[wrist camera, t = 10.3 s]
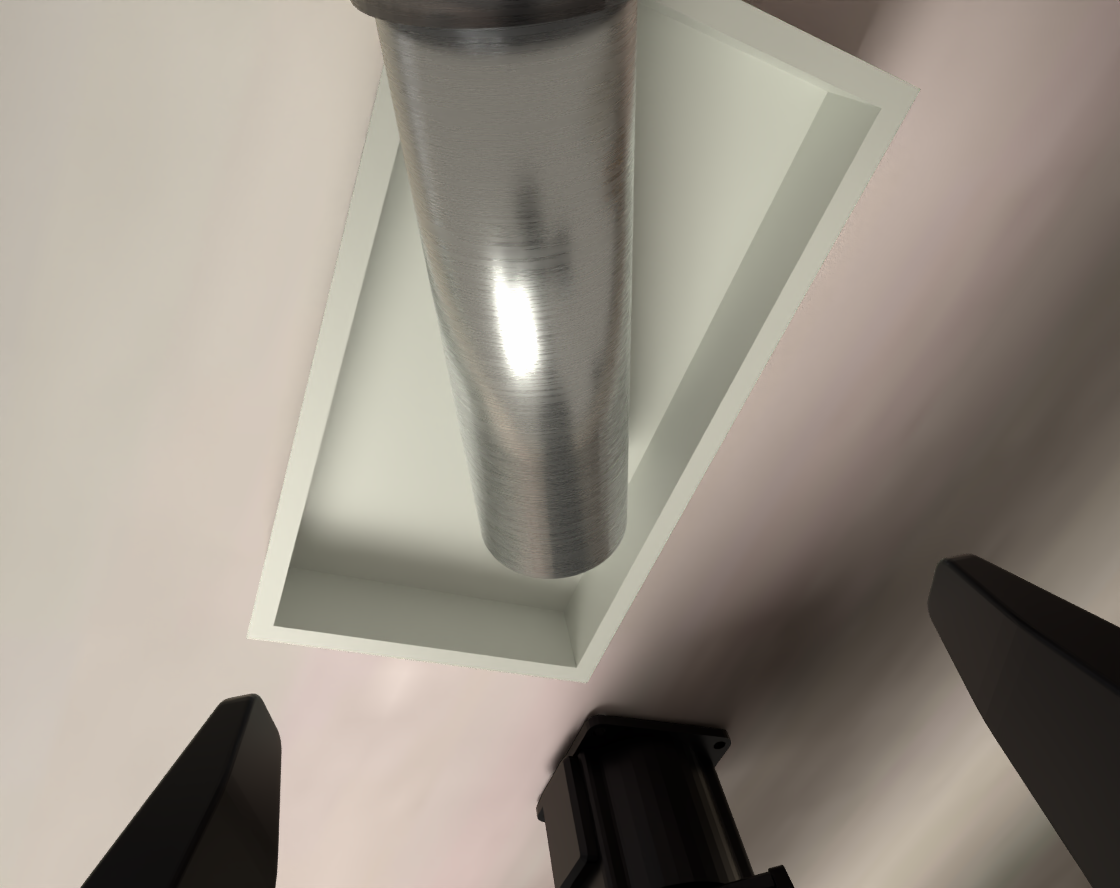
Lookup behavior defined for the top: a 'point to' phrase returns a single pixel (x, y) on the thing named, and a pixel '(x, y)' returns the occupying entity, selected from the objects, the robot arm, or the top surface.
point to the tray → (655, 358)
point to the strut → (527, 253)
